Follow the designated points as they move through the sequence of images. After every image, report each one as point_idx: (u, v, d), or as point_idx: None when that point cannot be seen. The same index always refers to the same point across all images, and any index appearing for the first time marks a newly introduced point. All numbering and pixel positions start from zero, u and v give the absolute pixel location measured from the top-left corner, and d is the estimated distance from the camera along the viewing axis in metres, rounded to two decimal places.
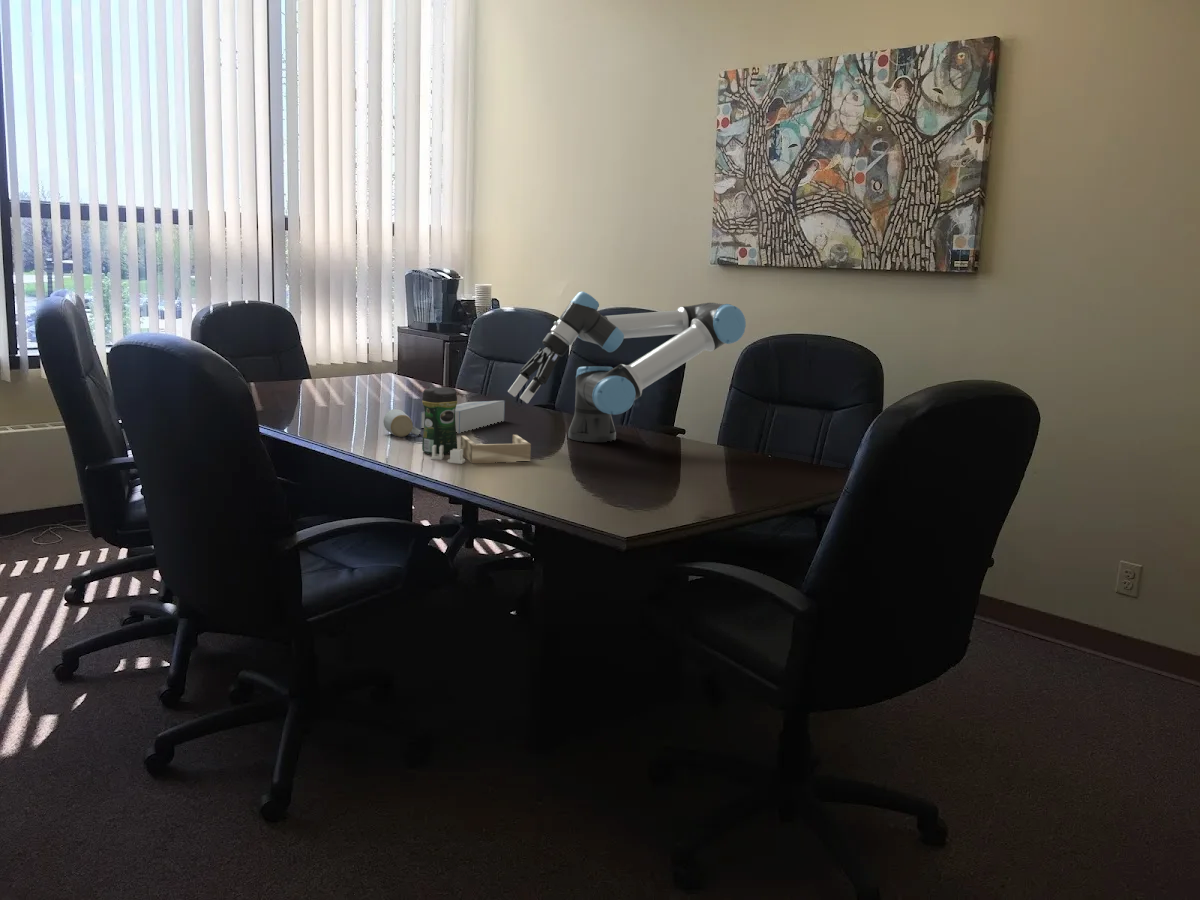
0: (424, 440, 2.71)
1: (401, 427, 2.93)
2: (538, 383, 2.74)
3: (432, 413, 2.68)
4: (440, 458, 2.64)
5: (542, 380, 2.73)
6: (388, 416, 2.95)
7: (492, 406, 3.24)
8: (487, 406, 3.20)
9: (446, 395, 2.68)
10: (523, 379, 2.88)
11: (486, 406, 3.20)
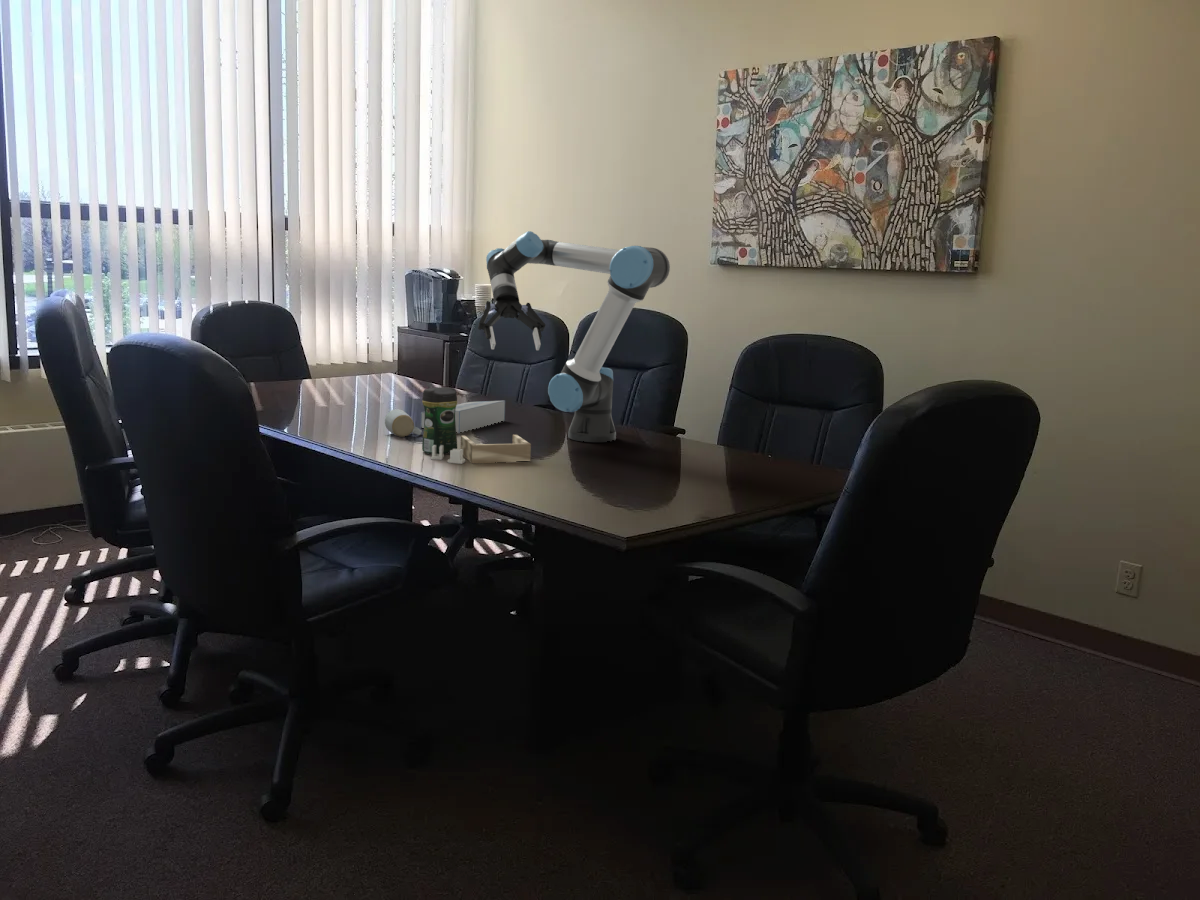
0: (424, 440, 2.71)
1: (402, 427, 2.93)
2: (485, 329, 2.83)
3: (432, 413, 2.68)
4: (440, 458, 2.64)
5: (478, 325, 2.83)
6: (389, 416, 2.95)
7: (492, 406, 3.23)
8: (487, 406, 3.20)
9: (446, 395, 2.68)
10: (534, 331, 2.87)
11: (486, 406, 3.20)
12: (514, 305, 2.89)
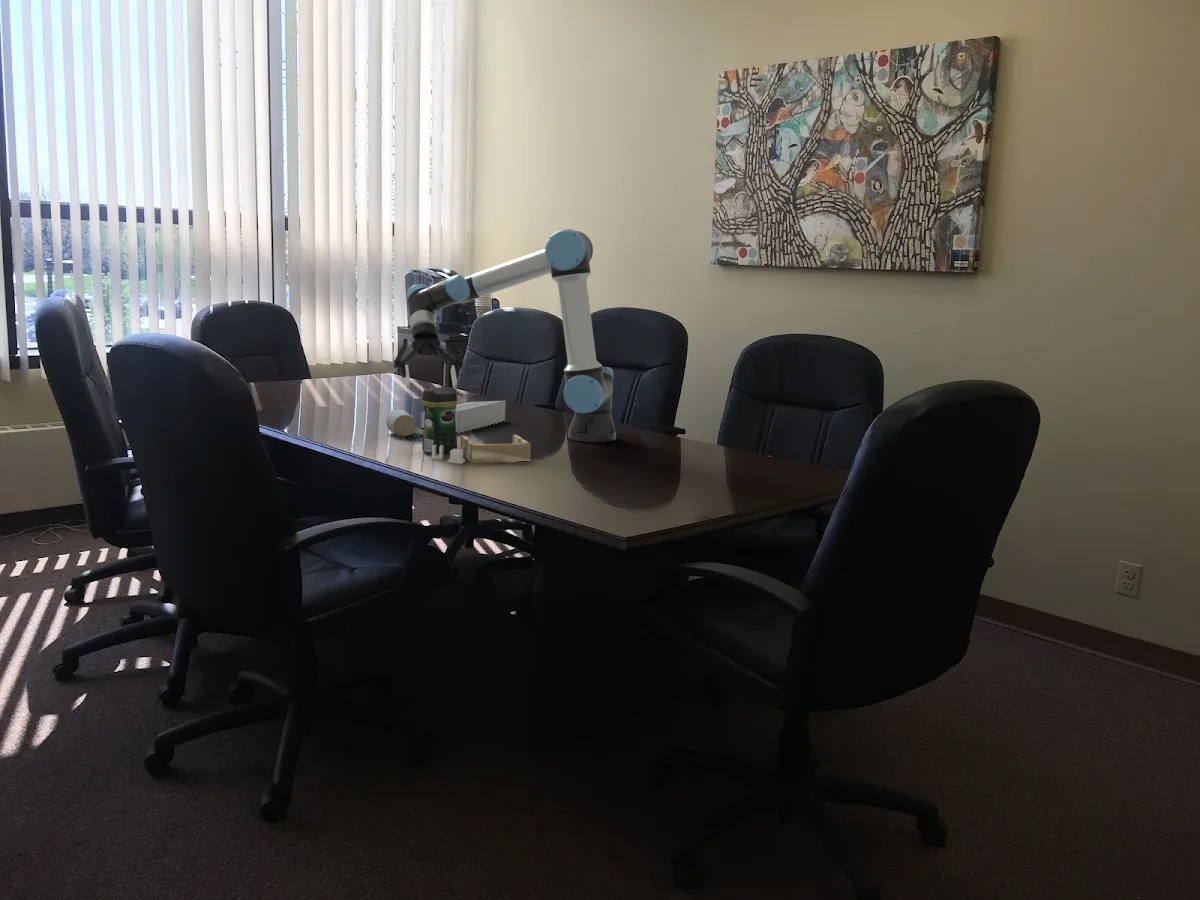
0: (424, 440, 2.71)
1: (404, 427, 2.93)
2: (400, 367, 2.80)
3: (432, 413, 2.68)
4: (440, 458, 2.64)
5: (394, 364, 2.80)
6: (391, 416, 2.95)
7: (493, 406, 3.23)
8: (487, 406, 3.20)
9: (446, 395, 2.68)
10: (451, 369, 2.84)
11: (486, 406, 3.20)
12: (432, 342, 2.86)
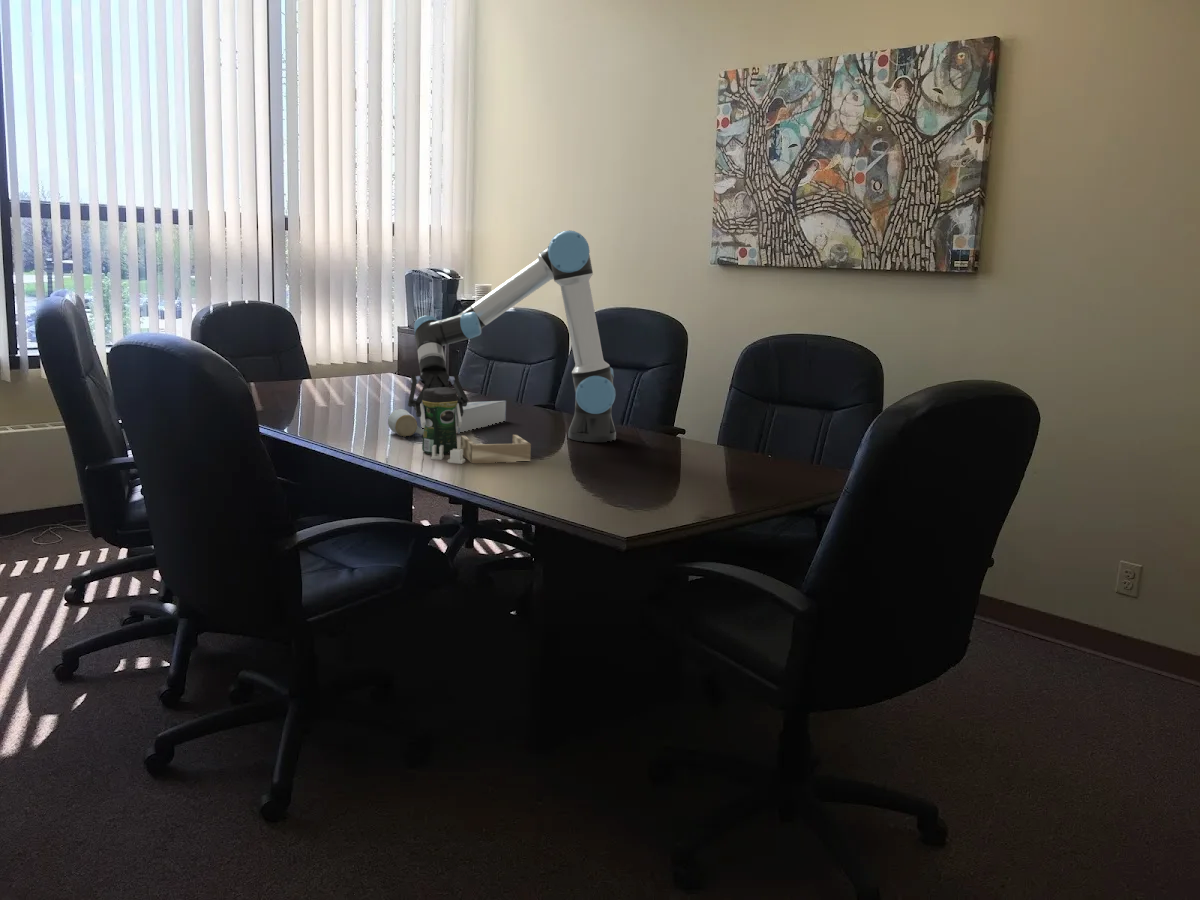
0: (424, 440, 2.71)
1: (406, 427, 2.93)
2: (415, 406, 2.71)
3: (432, 413, 2.68)
4: (440, 458, 2.64)
5: (408, 403, 2.71)
6: (393, 416, 2.96)
7: (493, 406, 3.23)
8: (488, 406, 3.20)
9: (446, 395, 2.68)
10: None
11: (487, 406, 3.20)
12: (440, 376, 2.77)
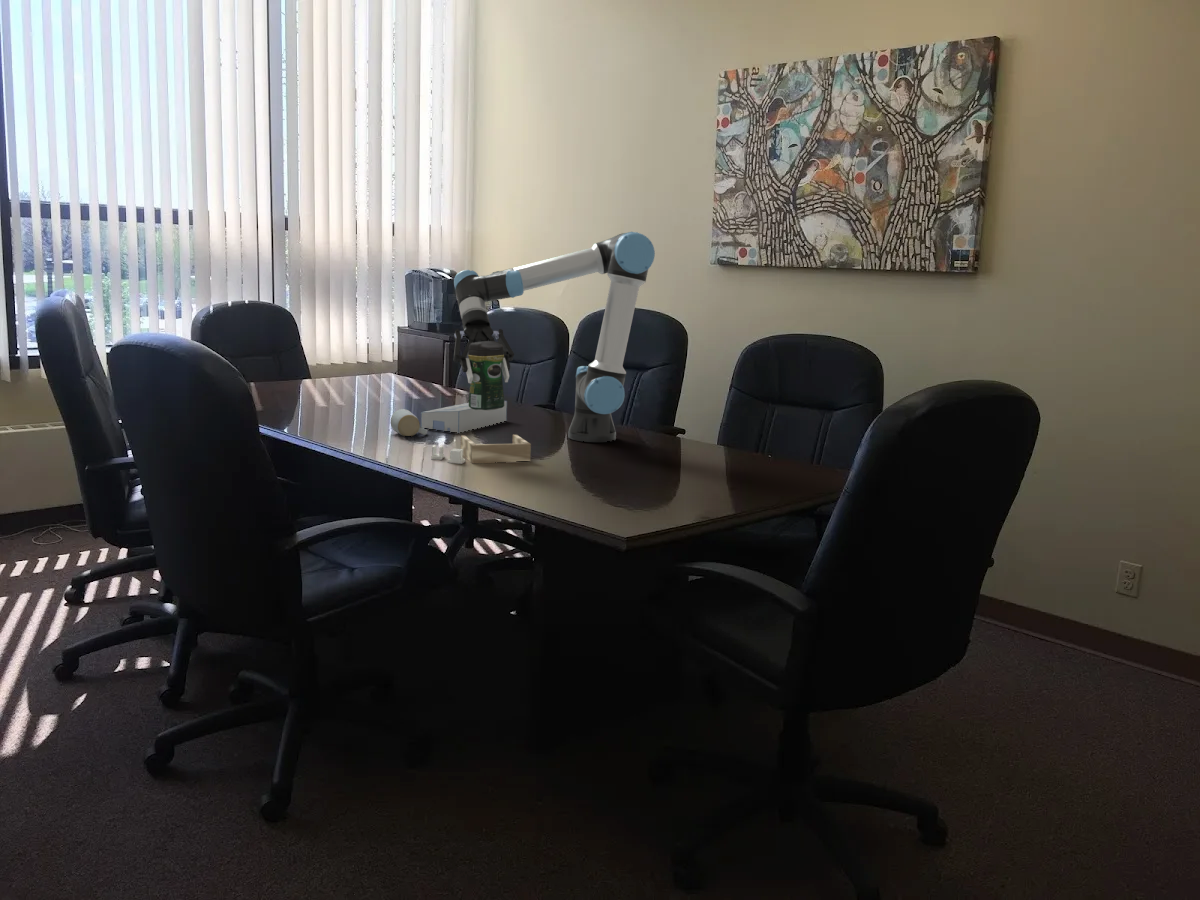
0: (471, 396, 2.63)
1: (408, 427, 2.94)
2: (461, 361, 2.63)
3: (479, 368, 2.60)
4: (440, 458, 2.64)
5: (454, 358, 2.63)
6: (395, 416, 2.96)
7: None
8: None
9: (493, 349, 2.60)
10: (502, 362, 2.66)
11: None
12: (484, 331, 2.69)
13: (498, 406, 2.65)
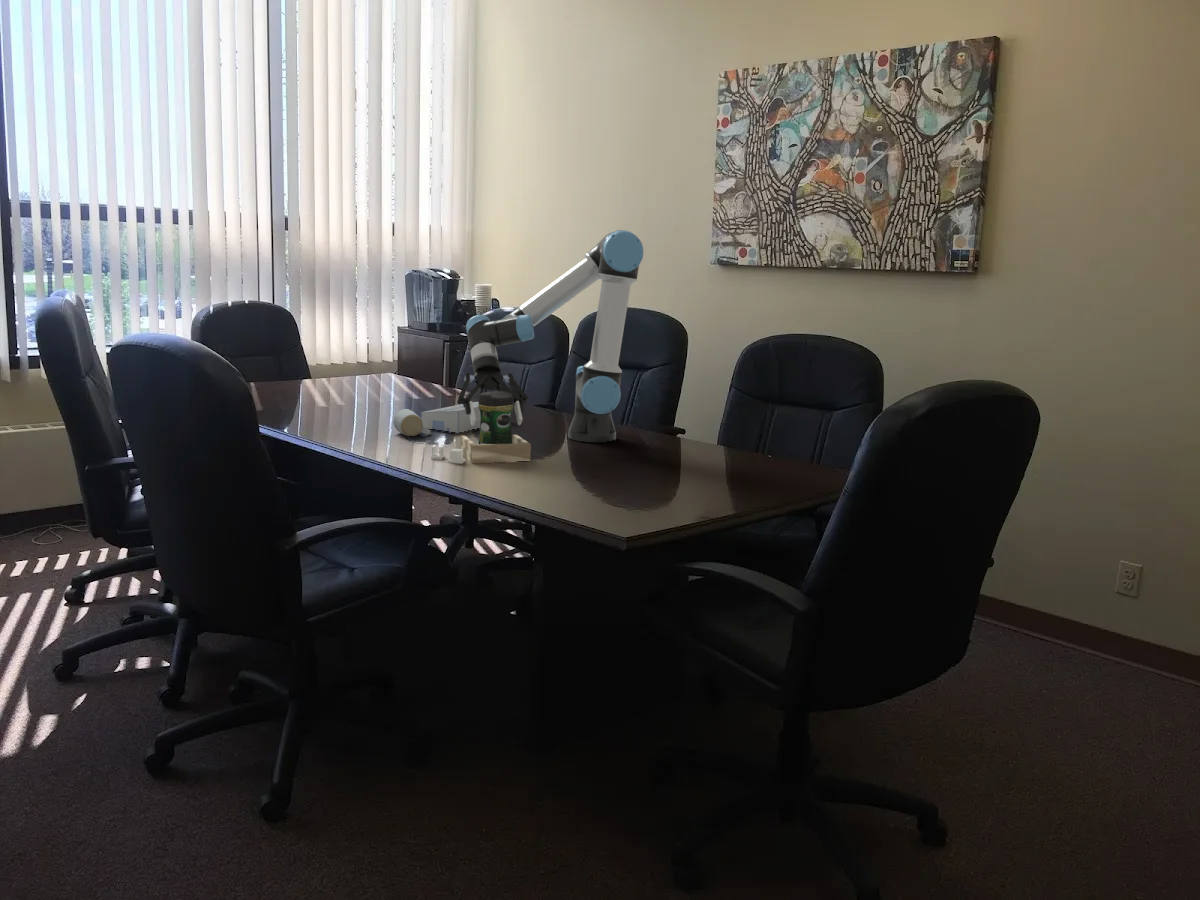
0: None
1: (411, 427, 2.94)
2: (464, 404, 2.68)
3: (488, 417, 2.66)
4: (440, 458, 2.64)
5: (458, 400, 2.68)
6: (398, 416, 2.96)
7: None
8: None
9: (503, 399, 2.66)
10: (515, 405, 2.73)
11: None
12: (495, 376, 2.74)
13: None
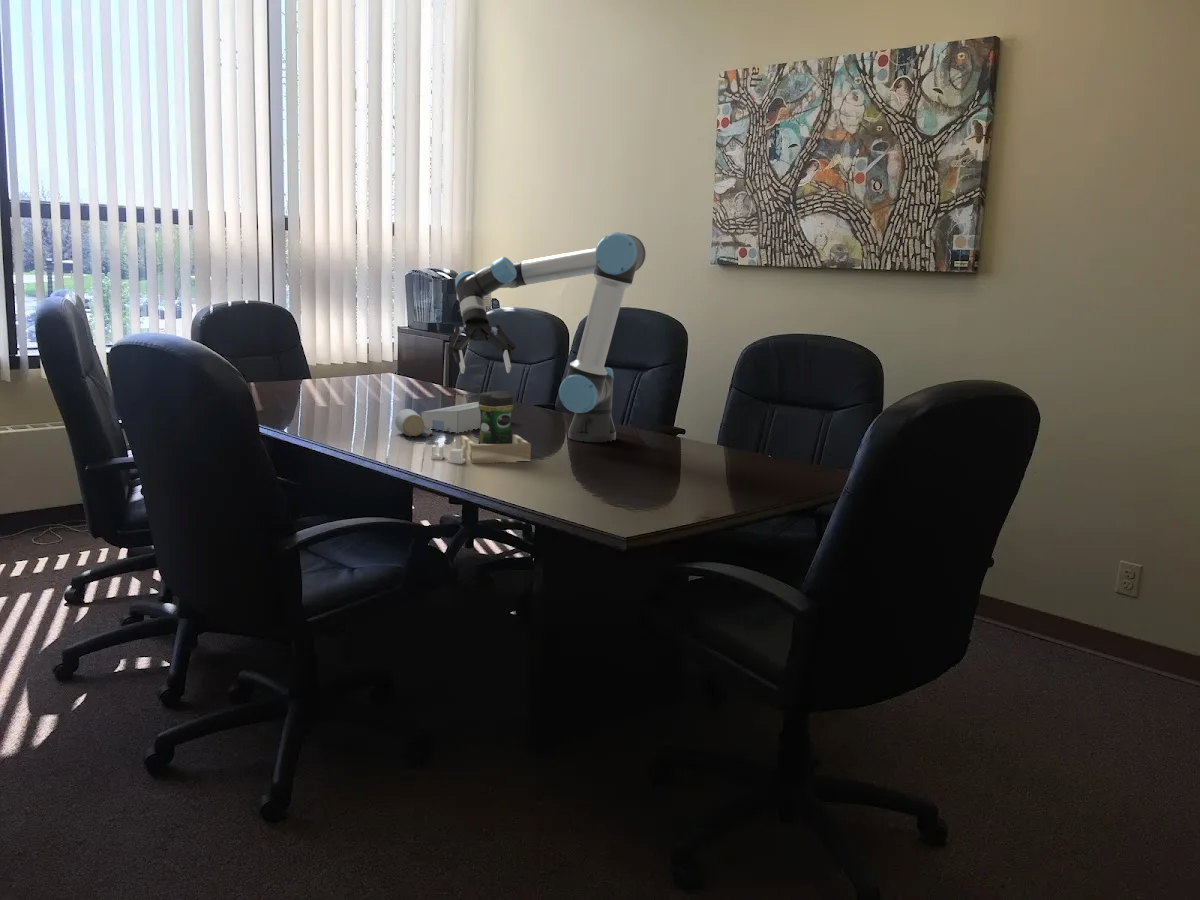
0: None
1: (413, 427, 2.94)
2: (454, 353, 2.79)
3: (489, 417, 2.66)
4: (440, 458, 2.64)
5: (447, 350, 2.80)
6: (400, 416, 2.96)
7: None
8: None
9: (503, 399, 2.66)
10: (504, 354, 2.84)
11: None
12: (483, 328, 2.86)
13: None
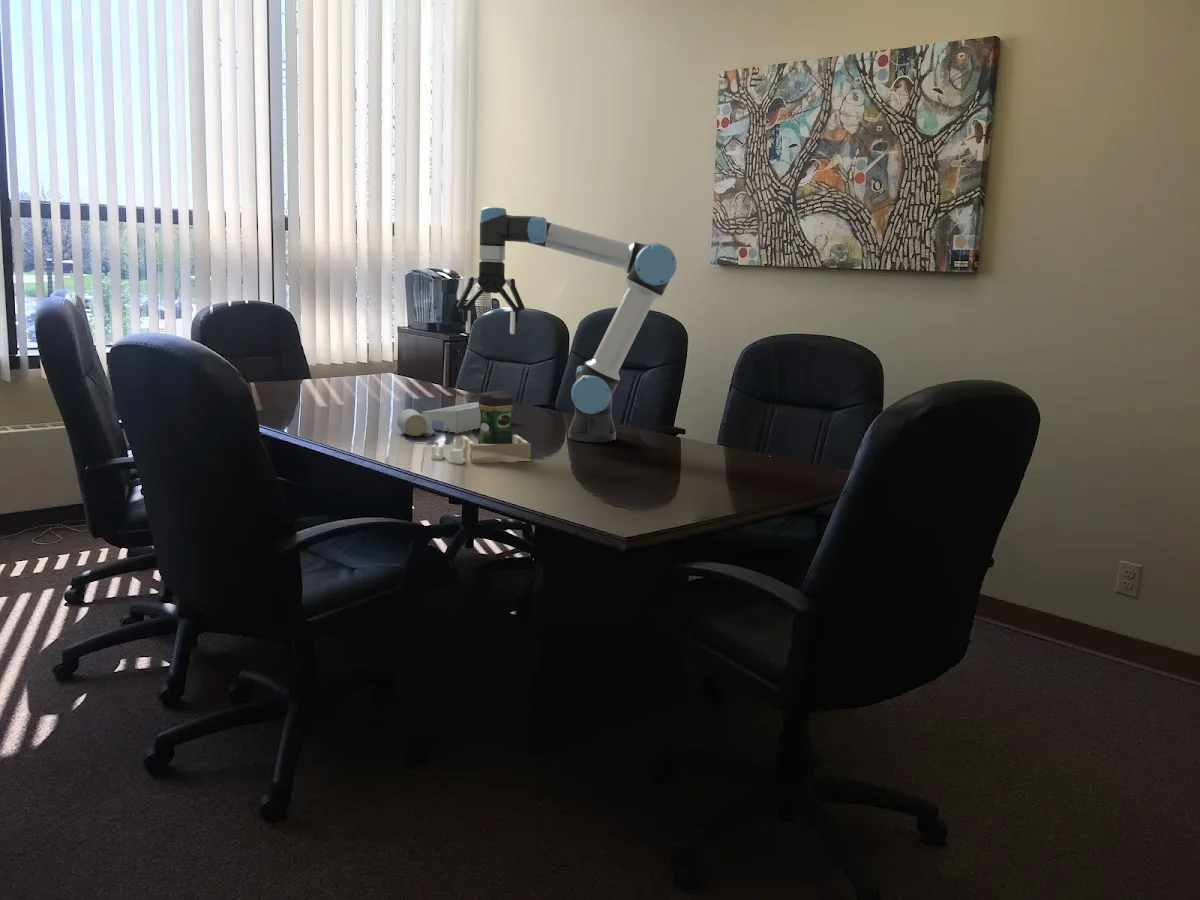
0: None
1: (415, 427, 2.95)
2: (463, 310, 2.85)
3: (489, 417, 2.66)
4: (440, 458, 2.64)
5: (457, 306, 2.84)
6: (402, 416, 2.97)
7: None
8: None
9: (503, 399, 2.66)
10: (511, 314, 2.90)
11: None
12: (497, 284, 2.85)
13: None
